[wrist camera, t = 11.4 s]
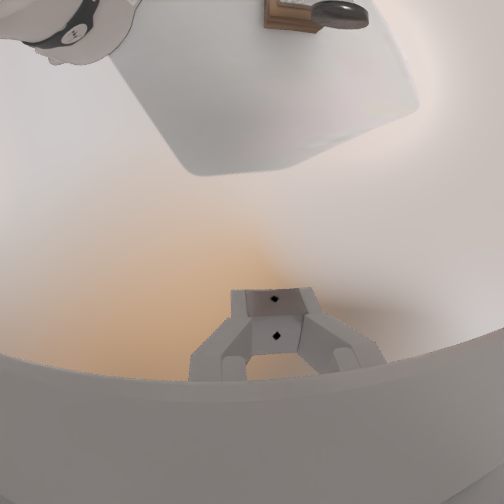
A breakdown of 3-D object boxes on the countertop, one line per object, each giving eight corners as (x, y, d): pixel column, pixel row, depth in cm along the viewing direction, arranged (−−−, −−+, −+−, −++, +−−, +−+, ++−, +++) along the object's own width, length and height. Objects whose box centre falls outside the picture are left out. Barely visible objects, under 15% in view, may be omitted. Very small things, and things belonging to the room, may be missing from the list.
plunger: (327, 60, 32) (402, 28, 15) (273, 53, 32) (314, 4, 14) (326, -1, 27) (389, -56, 10) (274, -8, 27) (309, -80, 9)
